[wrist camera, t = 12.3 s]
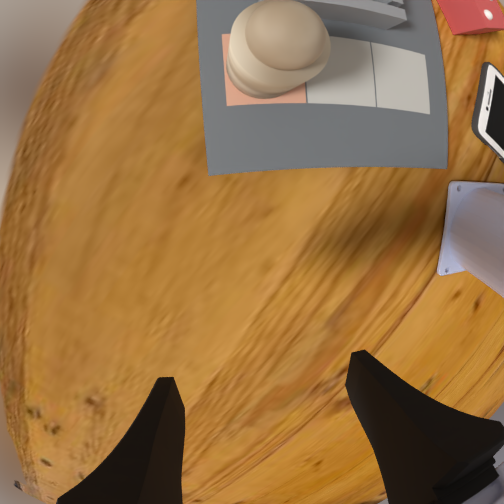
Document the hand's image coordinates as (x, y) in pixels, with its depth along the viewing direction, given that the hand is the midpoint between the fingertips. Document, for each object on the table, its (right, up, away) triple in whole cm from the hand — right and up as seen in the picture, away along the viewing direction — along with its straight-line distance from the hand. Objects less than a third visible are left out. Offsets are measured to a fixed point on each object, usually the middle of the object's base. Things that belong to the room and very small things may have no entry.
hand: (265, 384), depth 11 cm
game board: (+4, +19, +3) cm, 20 cm away
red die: (+16, +25, +2) cm, 30 cm away
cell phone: (+25, +17, +7) cm, 31 cm away
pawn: (0, +15, +3) cm, 16 cm away
